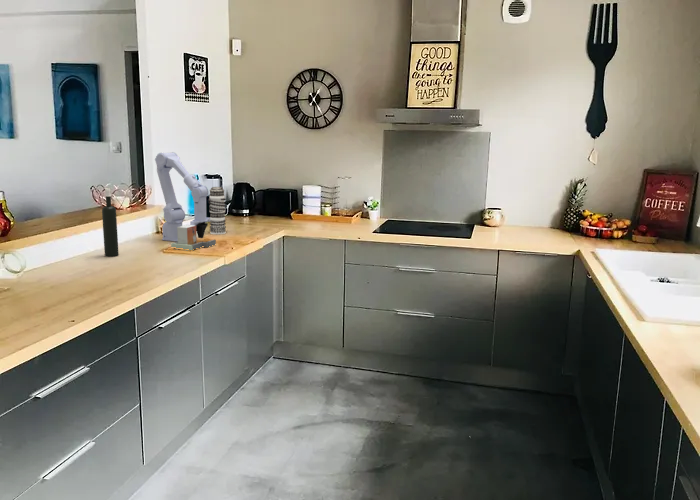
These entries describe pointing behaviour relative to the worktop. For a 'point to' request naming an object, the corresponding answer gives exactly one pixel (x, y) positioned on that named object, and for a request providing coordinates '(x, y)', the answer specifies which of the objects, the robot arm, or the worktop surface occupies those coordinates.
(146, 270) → the worktop surface
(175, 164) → the robot arm
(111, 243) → the wine bottle
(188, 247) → the keyhole jig
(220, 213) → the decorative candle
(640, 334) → the worktop surface
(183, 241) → the small box
